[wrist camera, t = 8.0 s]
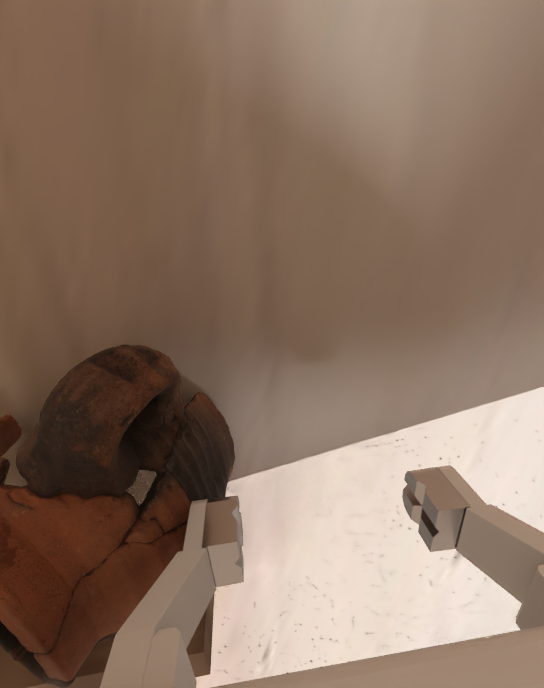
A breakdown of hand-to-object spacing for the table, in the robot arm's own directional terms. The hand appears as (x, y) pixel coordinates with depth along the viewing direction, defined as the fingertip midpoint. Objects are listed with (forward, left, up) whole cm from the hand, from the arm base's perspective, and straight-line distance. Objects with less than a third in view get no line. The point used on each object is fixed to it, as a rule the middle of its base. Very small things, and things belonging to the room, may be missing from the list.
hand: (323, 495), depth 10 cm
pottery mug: (+6, -1, -6) cm, 8 cm away
